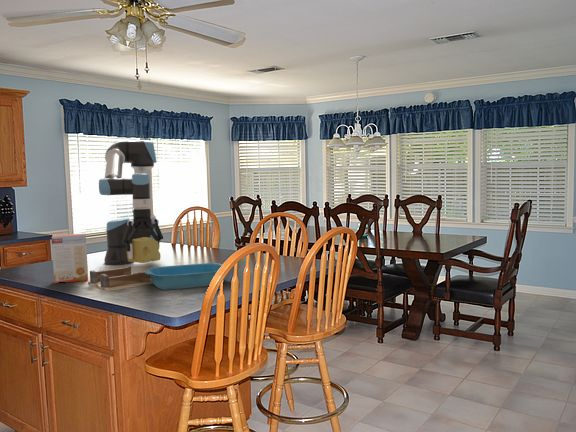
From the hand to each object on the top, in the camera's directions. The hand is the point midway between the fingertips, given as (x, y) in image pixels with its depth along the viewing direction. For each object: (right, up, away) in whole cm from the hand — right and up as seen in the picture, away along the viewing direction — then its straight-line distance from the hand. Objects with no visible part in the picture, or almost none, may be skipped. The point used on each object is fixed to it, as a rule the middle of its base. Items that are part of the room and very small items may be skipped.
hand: (143, 257), depth 231 cm
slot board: (-5, -11, -4) cm, 13 cm away
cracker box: (-32, -11, 0) cm, 34 cm away
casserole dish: (+22, -11, -8) cm, 26 cm away
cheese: (0, -2, 0) cm, 2 cm away
